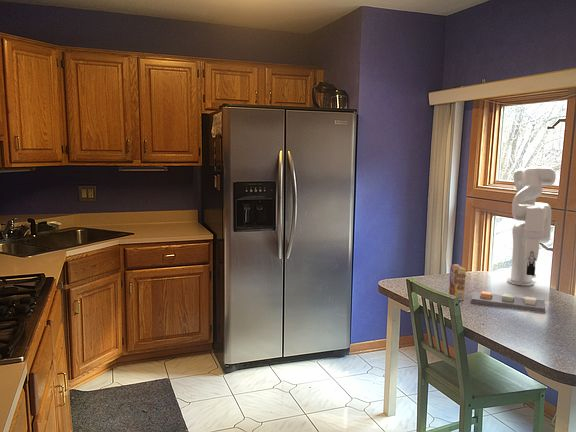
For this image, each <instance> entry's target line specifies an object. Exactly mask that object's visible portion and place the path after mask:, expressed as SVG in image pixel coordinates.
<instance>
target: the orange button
mask: <svg viewBox="0 0 576 432" xmlns="http://www.w3.org/2000/svg"><path fill="white" fill-rule="evenodd" d="M492 294H493V292H492V291H486V290H485V291H484V290H482V291H481V298H487V299H491V298H492Z"/></svg>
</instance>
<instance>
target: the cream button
mask: <svg viewBox="0 0 576 432" xmlns="http://www.w3.org/2000/svg"><path fill="white" fill-rule="evenodd" d="M523 298H524V304H532V305H535V304H536V300H537V299H536V297H533V296H526V295H525V296H524V297H523Z"/></svg>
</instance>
